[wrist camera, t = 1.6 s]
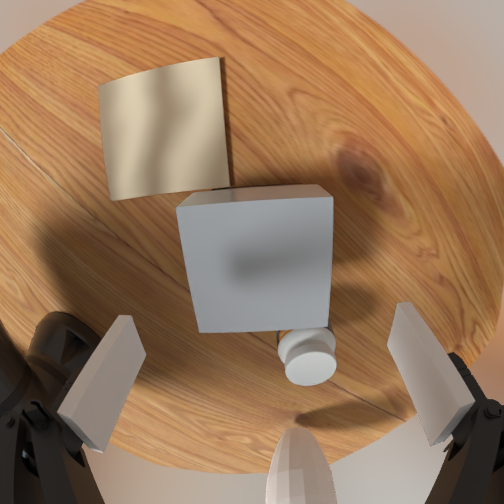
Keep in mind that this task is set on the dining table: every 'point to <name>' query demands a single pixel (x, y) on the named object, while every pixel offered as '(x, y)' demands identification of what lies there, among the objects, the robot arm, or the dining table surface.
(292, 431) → the cup
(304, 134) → the dining table surface
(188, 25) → the dining table surface
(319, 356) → the pill bottle
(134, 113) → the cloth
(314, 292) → the grey cover
